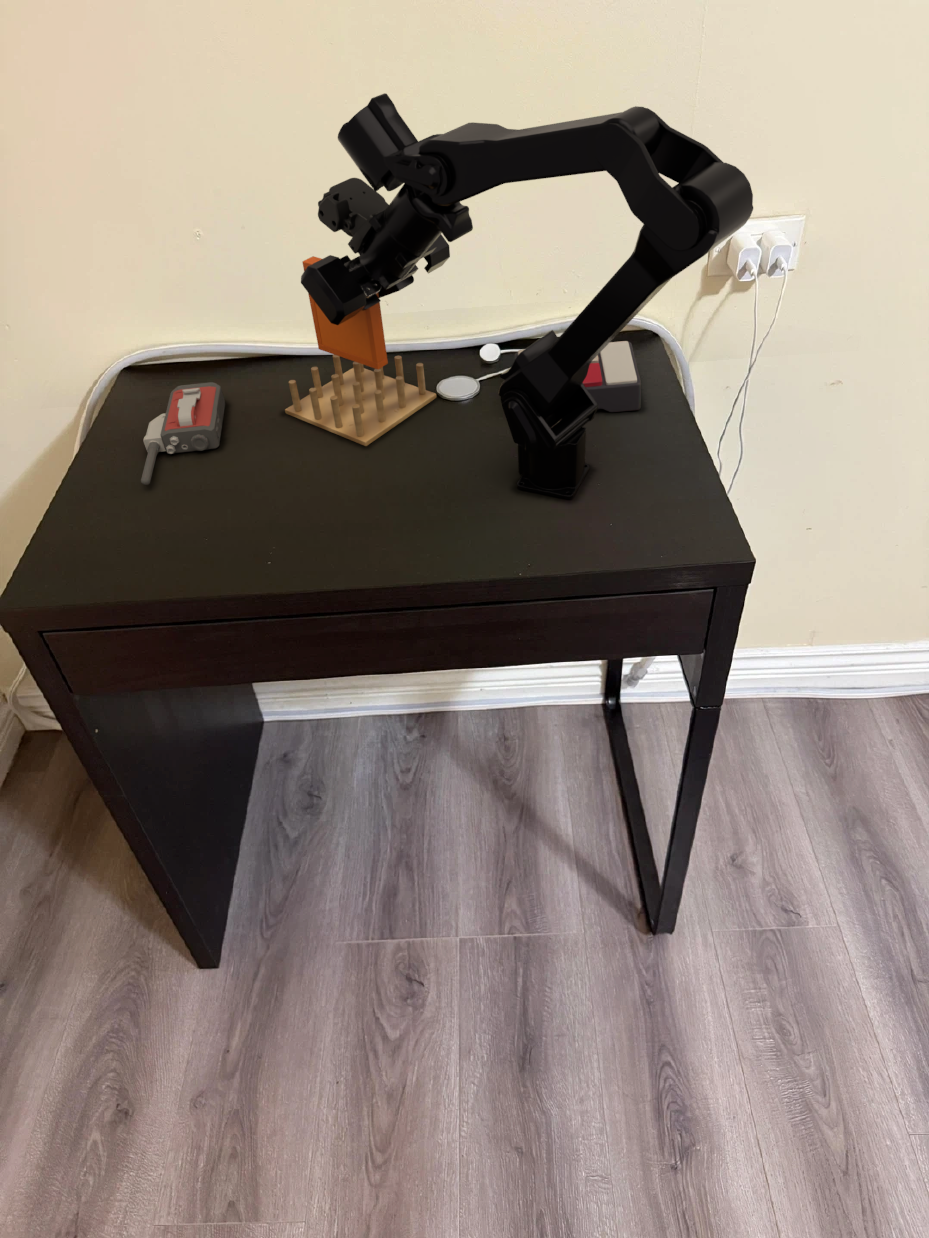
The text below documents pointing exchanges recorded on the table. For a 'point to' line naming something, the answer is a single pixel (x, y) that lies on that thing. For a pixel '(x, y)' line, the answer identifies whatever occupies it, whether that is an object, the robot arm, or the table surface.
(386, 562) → the table surface
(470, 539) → the table surface
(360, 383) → the rack
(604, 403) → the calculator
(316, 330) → the lid
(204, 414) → the walkie-talkie
